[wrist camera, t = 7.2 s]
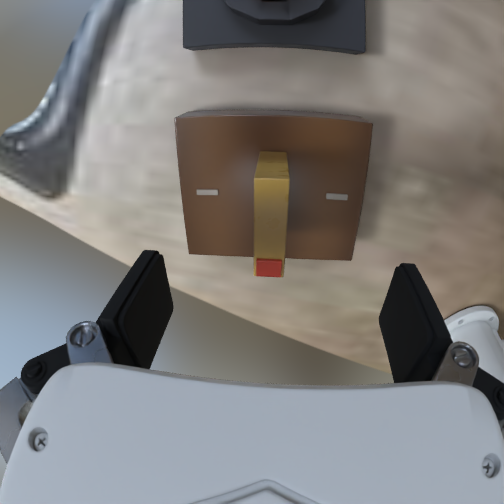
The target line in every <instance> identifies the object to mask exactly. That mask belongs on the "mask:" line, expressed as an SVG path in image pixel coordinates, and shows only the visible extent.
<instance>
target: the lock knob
mask: <svg viewBox="0 0 504 504" xmlns="http://www.w3.org/2000/svg"><path fill="white" fill-rule="evenodd" d="M289 187H290V177H289V168H288V160H287V153H286V152H269V151H260V154H259V159H258V163H257V167H256V172H255V177H254V276H264V277H283V276H284V264H285V250H286V236H287V221H288V204H289Z"/></svg>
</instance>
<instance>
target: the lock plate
mask: <svg viewBox="0 0 504 504" xmlns="http://www.w3.org/2000/svg"><path fill="white" fill-rule="evenodd" d="M372 127H373V124H372V123H370V122H369V121H367V120H365V119H363V118H361V117H358V116H350V115H341V114H331V113H320V112H307V111H289V110H209V111H191V112H187V113H184V114H182V115H180V116H178V117H175V132H176V144H177V156H178V167H179V177H180V186H181V195H182V204H183V212H184V220H185V228H186V236H187V243H188V250H189V254H197V255H220V256H244V257H254V177H255V172H256V167H257V163H258V159H259V154H260V151H269V152H286V153H287V160H288V168H289V177H290V187H289V204H288V221H287V236H286V250H285V258H294V259H320V260H347V261H351V260H352V255H353V251H354V246H355V241H356V236H357V231H358V225H359V220H360V214H361V208H362V202H363V196H364V190H365V183H366V177H367V170H368V162H369V154H370V146H371V137H372Z"/></svg>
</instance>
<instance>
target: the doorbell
mask: <svg viewBox="0 0 504 504" xmlns="http://www.w3.org/2000/svg"><path fill="white" fill-rule="evenodd" d="M365 42H366V22H365V0H183V48H186V49H189V50H193V51H194V50H205V49H218V48H238V47H281V48H301V49H314V50H325V51H334V52H341V53H349V54H355V55H356V54H360V53H364V52H365Z"/></svg>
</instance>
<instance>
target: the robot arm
mask: <svg viewBox="0 0 504 504" xmlns="http://www.w3.org/2000/svg"><path fill="white" fill-rule="evenodd" d="M172 312H173V301H172V297H171V292H170V287H169V283H168V278H167V273H166V268H165V263H164V258H163V255H161V254H159V252H158V251H154V250H144V251H143V252H142V253H141V255H140V256H139V258H138V259H137V260H136V262H135V263H134V265H133V266H132V268H131V269H130V271H129V272H128V274H127V275H126V277H125V278H124V280H123V281H122V282H121V284H120V285H119V287H118V288H117V290H116V291H115V293H114V294H113V296H112V298H111V299H110V301H109V302H108V304H107V305H106V307H105V308H104V310H103V312H102V313H101V315H100V316H99V318H98V320H97V321H96V323H95V322H91V321H84V322H80V323H78V324H76V325H75V326H73V327H72V328H71V329H70V330H69V332H68V333H67V336H66V344H64V345H62V346H59V347H57V348H55V349H53V350H50V351H48V352H46V353H44V354H41V355H39V356H37V357H35V358H33V359H31V360H29V361H28V362H27V363H26V364H25V365H24V367H23V368H22V371H21V378H20V379H18V378H17V377H15V378H14V379H13V380H12V381H10V382H9V383H8V384H7V385H5V386H4V387H3V388H2V389H1V390H0V451H1V454H2V456H3V457H4V459H5V461H6V463H7V468H6V471H5V474H4V477H3V481H2V485H1V488H0V504H504V339H503V340H501V338H500V337H499V335H498V333H497V330H498V327H499V319H498V317H497V315H496V313H495V311H494V310H493V309H492V308H490V307H488V306H474V307H470V308H467V309H464V310H462V311H459V312H458V313H456V314H454V315H452V316H450V317H449V318H447V319H446V320H443V318H442V315H441V313H440V311H439V309H438V307H437V305H436V303H435V301H434V299H433V297H432V295H431V293H430V291H429V289H428V287H427V285H426V284H425V282H424V280H423V278H422V276H421V274H420V272H419V271H418V269H417V267H416V265H415V264H409V263H401V264H400V266H399V267H396V268H395V271H394V274H393V277H392V281H391V284H390V287H389V290H388V293H387V296H386V298H385V301H384V304H383V307H382V310H381V313H380V316H379V325H380V328H381V332H382V335H383V339H384V343H385V347H386V351H387V355H388V359H389V363H390V367H391V371H392V375H393V380H394V383H390V384H389V383H388V384H368V385H289V384H287V385H286V384H268V383H254V382H241V381H230V380H221V379H212V378H203V377H195V376H189V375H181V374H175V373H169V372H162V371H156V370H150V367H151V364H152V361H153V359H154V356H155V354H156V351H157V349H158V346H159V344H160V341H161V339H162V337H163V334H164V331H165V329H166V327H167V324H168V322H169V320H170V317H171V315H172Z"/></svg>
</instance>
